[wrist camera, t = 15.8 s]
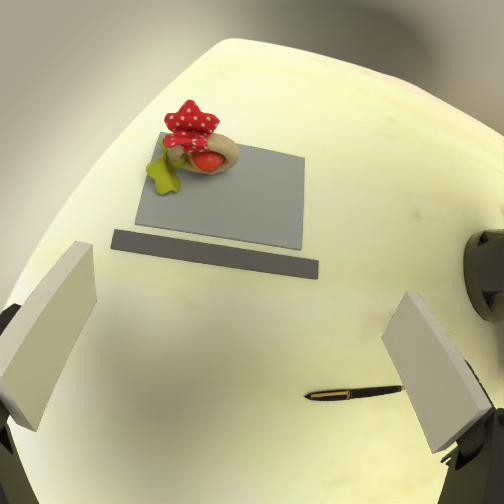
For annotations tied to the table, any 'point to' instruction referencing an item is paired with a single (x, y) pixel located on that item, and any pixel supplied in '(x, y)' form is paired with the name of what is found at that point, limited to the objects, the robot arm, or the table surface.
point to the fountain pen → (352, 393)
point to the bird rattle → (191, 148)
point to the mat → (228, 214)
